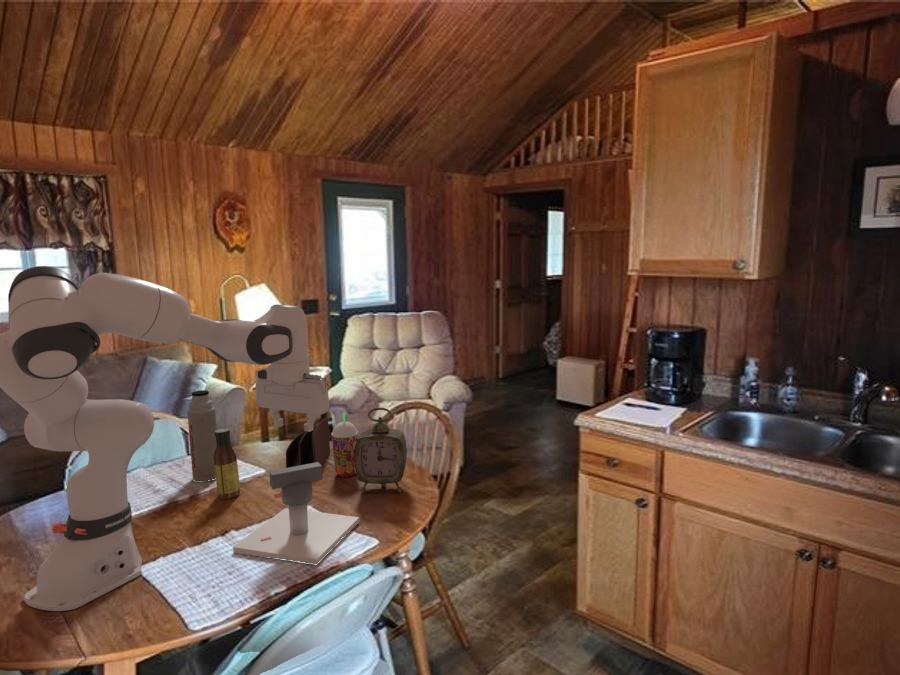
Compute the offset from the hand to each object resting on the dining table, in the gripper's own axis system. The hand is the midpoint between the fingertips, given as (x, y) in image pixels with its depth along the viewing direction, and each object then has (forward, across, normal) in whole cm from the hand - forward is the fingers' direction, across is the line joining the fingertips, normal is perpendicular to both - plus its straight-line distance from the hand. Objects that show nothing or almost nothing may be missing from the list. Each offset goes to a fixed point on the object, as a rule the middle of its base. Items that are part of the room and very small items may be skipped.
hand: (293, 428), depth 139 cm
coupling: (+18, 0, 0) cm, 18 cm away
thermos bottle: (+28, +54, -18) cm, 63 cm away
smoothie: (+28, +15, -39) cm, 50 cm away
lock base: (+28, 0, 0) cm, 28 cm away
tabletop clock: (+28, -2, -34) cm, 44 cm away
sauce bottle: (+28, +36, -11) cm, 47 cm away
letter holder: (+28, +33, -42) cm, 60 cm away
